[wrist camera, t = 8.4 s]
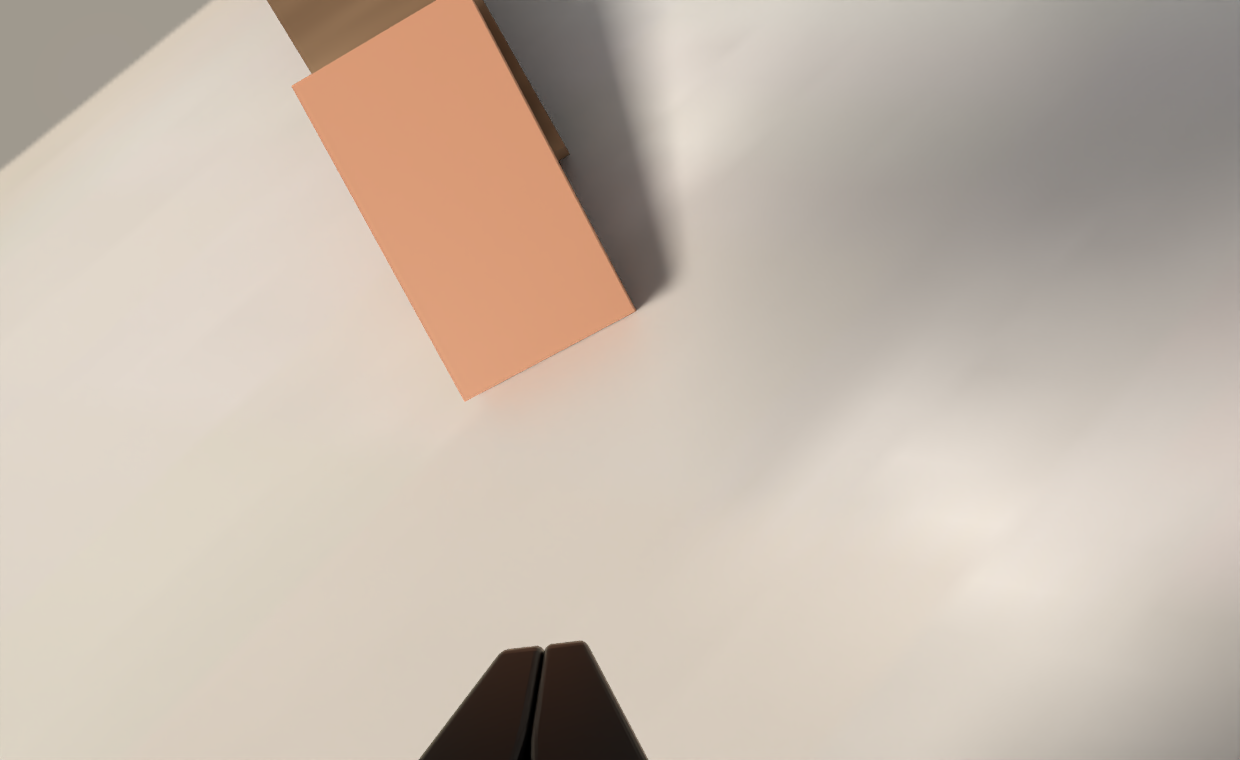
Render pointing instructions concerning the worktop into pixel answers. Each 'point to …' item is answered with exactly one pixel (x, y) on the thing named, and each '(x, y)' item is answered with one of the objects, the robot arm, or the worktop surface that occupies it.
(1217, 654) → the worktop surface
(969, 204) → the worktop surface
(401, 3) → the walnut domino
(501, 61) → the terracotta domino
